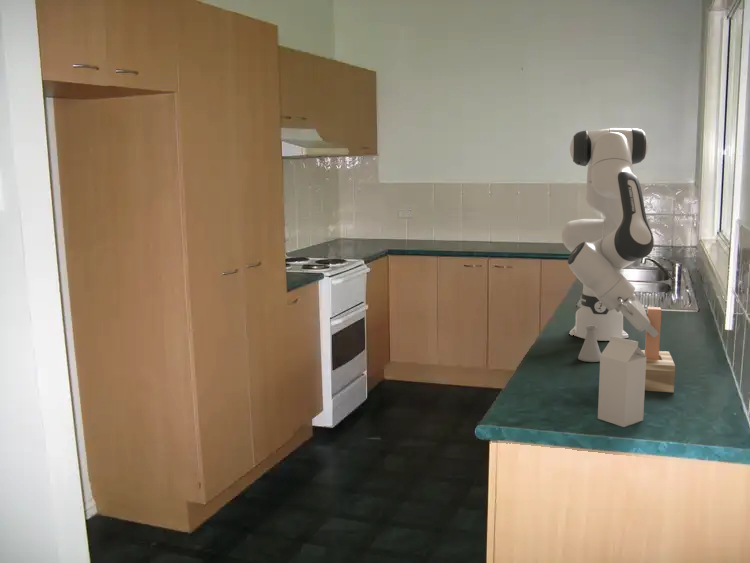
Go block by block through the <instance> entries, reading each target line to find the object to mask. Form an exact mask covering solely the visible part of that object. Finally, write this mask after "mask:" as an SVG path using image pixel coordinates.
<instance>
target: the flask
mask: <svg viewBox="0 0 750 563" xmlns="http://www.w3.org/2000/svg"><path fill="white" fill-rule="evenodd" d="M586 329H587V334H586V339H584V342H583V344H582V347H581V349H580V352H579V354H578V357H577V359H578V360H580V361H583V362H588V363H597V362H599V363H600V355H601V354H602V352H601V350H600V346H599V344H598V340H597V339H596V329H597V327H596V326H586Z"/></svg>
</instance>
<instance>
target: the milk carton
mask: <svg viewBox="0 0 750 563" xmlns="http://www.w3.org/2000/svg"><path fill="white" fill-rule="evenodd" d="M641 350H642V349H641V348H640V347H639V341H636V340H632V339H628V338H619V337H614V336H610V341H609V342H608V343H607V345H606V346H605V347H604V349H603V350H602V352H601V355H600V361H599V375H598V376H599V380H598V382H599V383H598V399H597V400H598V404H597V407H598V408H597V419H598V420H601V421H604V422H608V423H611V424H613V425H616V426H619V427H622V428H625V427H629V426H631V425H635V424H637V423H639V422H642V421H644V414H645V412H644V410H645V394H646V393H645V391H646V390H645V375H646V356H645V354H644V353H643V352H642V351H641Z"/></svg>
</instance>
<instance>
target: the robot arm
mask: <svg viewBox="0 0 750 563" xmlns="http://www.w3.org/2000/svg"><path fill="white" fill-rule="evenodd" d="M648 150H649V140H648V138H647V135H646V132H645V131H644V130H643V129H640V128H635V127H631V128H622V127H619V128H618V127H611V128H602V129H601V128H600V129H594V130H593V129H591V130H581V131H578V132H575V134H574V135H573V138H572V140H571V142H570V146H569V152H570V157H571V159H572V161H573V163H575V164H576V165H577V166H581V167H586V166H587V172H586V173H587V174H586V196H585V197H586V198H585V199H586V203H587V205H588V206H589V207H590V208H592V209H593V210H595V211H596V212H599V213H601V214H602V215H603V216H604V217H605V218H581V219H574V220H570V221H568V222H567V223H566V224H565V225H564V226H563V229H562V231H561V241H562V243H563V245H564V247H565V248H566V249H567V250H568V251H569V252H570V254H569V256H568V259H567V265H568V267H569V269H570V271H571V272H572V273H573V275H574V276H575V277H576V278H577V279H578V280H579V281H580V282H581V283H582V285H583V287H582V288H583V289H582V293H581V297H580V303H581V306H580V307H579V308H578V309H577V310H576V312H575V316H574V319H575V322H574V327H573V328H571V330H570V331H569V334H570V336H573V335H574V337H578V338H581V339H584V340H585V339H586V334H587V329H586V326H596V327H597V329H596V339H597V341H599V342H600V341H602V342H603V341H605V342H607V341H609V342H610V336H614V337H619V338H623V339H628V338H629V334H628V333H627V332H626V331H625V330H624V317H625V319H626V320H627V321H628V322H629V323H630V325H632V326H633V327H634V329H636V330H637V331H638V332H640V333H641V332H643V331H645V332H646V331H647V332H648V333H649V334H650V335H651V336H652V337H656V336H657V335H658V334H659V333H658V331H657V330H656V329H655V328H654V327H653V326H652V325H651V324H650V320H649V318H648V316H647V310H646V309H645V307H644V306H643V304H642V303H641V301H640V300H639V299H638V298H637V294H635V293H634V292H635V290H636V287H635V286H634V285H633V284H632V283H631V282H630V281H629V280H628V279H627V278H626V277H625V276H624V275H623V274H622V273H621V272H620V271H621V270H623V269H625V268H626V267H628V266H630V265H632V264H634V263H635V262H636V261H639V260H641V259H643V258H645V257H647V256H650V253H651V252H652V251H653V249H654V244H655V243H654V242H655V238H654V235H653V231H652V230H651V228H650V225H649V222H648V219H647V214H646V209H645V208H646V207H645V204H644V203H645V202H644V197H643V192H642V187H641V183H640V180H639V178H638V177H637V175H636V174H634V172H633V165H636V164H639V163H641V162H643V160H645V158H646V156H647V154H648Z"/></svg>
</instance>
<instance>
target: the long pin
mask: <svg viewBox="0 0 750 563" xmlns="http://www.w3.org/2000/svg"><path fill="white" fill-rule="evenodd" d="M646 314H647V316H648V318H649V320H650V324H651V325H652V326H653V327H654V328H655V329H656V330H657V331H658V333H659V334H658V335H657V336H656V337H652V336H651V335H650V334H649V333H648V332H647V331H645V342H644V350H645V356H646V359H650V360H659V351H660V343H661V341H660V339H661V327H662V326H661V325H662V323H661V322H662V308H661V307H660V306H659V307H657V306H647V307H646Z"/></svg>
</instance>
